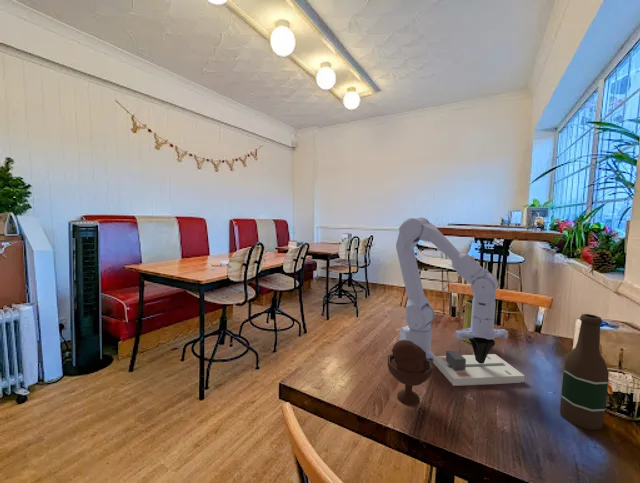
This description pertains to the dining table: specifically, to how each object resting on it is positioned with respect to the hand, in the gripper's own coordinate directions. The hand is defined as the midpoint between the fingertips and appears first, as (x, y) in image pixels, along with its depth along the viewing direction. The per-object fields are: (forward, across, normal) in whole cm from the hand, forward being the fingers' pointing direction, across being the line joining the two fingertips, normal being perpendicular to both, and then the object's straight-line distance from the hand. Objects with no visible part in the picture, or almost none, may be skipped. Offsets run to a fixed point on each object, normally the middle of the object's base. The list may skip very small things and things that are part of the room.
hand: (479, 361), depth 85 cm
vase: (+3, +10, +20) cm, 23 cm away
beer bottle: (+3, +11, -20) cm, 23 cm away
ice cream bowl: (+3, -25, -10) cm, 27 cm away
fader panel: (+3, -1, 0) cm, 3 cm away
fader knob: (+1, -7, 0) cm, 7 cm away
